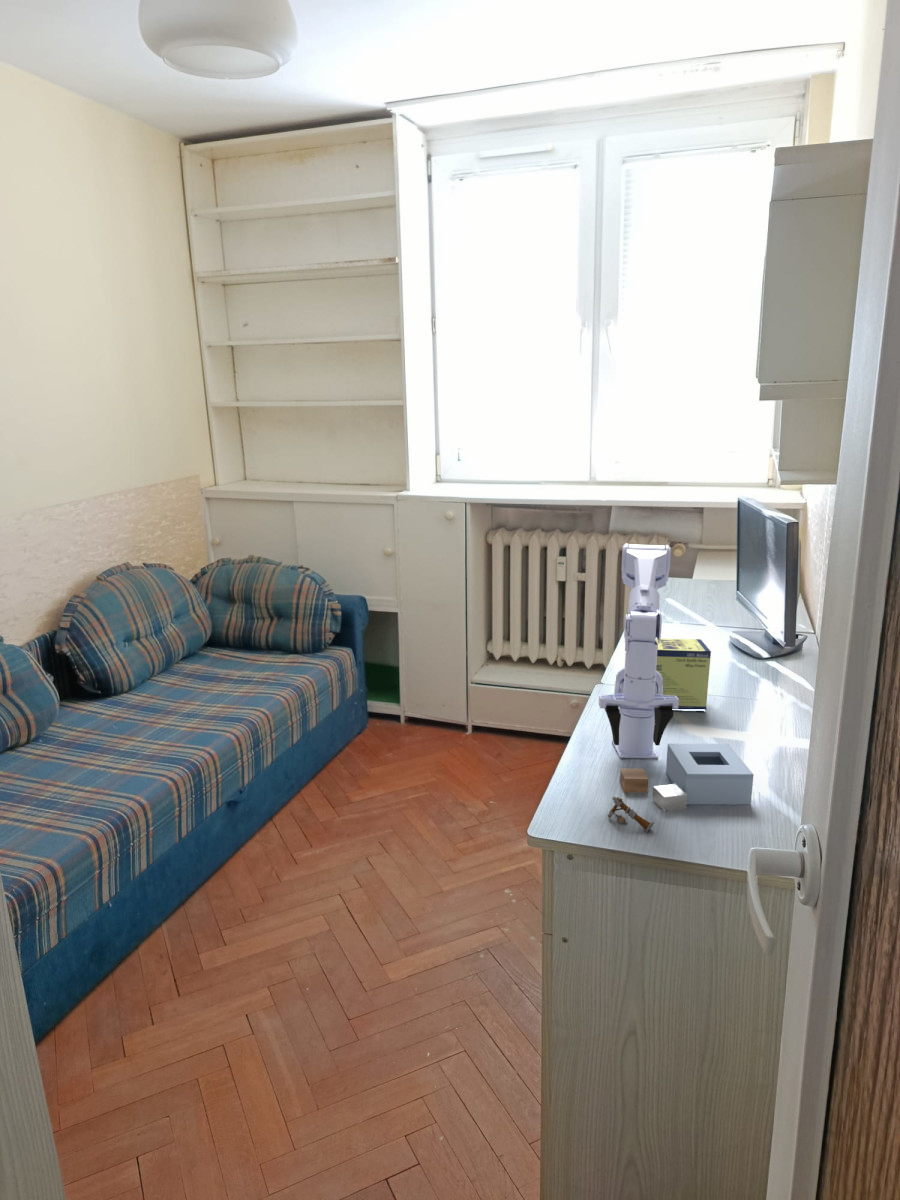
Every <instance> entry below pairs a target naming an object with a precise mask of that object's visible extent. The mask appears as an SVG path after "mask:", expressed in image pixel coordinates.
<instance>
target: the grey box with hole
mask: <svg viewBox="0 0 900 1200" xmlns="http://www.w3.org/2000/svg"><path fill="white" fill-rule="evenodd" d="M666 750H667V751H666V763H665V764H666V765H665V766H666V767H665V773H666V775H668V778H669V779H670V781H671V782H672V783H671V784H676V785H677V786H678V787H679V788H680V789H682V790H683V791H684V792H685V793H686V794H687V805H738V806H739V805H740V806H741V805H746V806H747V805H752V804H751V803H752V796H753V795H752V794H753V785H754V775H755V774H754V773H753V771H752V770H751V769H750V768H749V767H748V765H746V763H745V762H744V760H742V759H741V757H740V756H739V755H738V754H737V752H736V751H735V750H734V749H733V748H732V747H731V746H730V744H729V743H667V749H666Z"/></svg>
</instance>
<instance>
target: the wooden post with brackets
mask: <svg viewBox="0 0 900 1200" xmlns="http://www.w3.org/2000/svg"><path fill="white" fill-rule="evenodd" d="M612 801H613V803H614V805H613V807H612V808H611V810H610V811H609V812H608V814H607V817H608V818H610V819H611V818H612V816H614V817H615V818H616V822H617V821H618V822H619V823H620V824H621V823H623V824H624V823H625V824H624V825H627V824H628V822H627V818H625V817H623V815H622V814H620V815H619V813H616V812H617V811H621V810H622V811H624V813H625V814H627V816H629V817H630V818H631V819H632V820H634V821H635V822H637V823H638V825H640V826H641V827H642V828H643V829H644V833H645V832H647V833H648V831H649V830H650V829H649V828H651V829H652V827H653V826H654V824H655V822H654V821H651V822H650V821H648V820H647V819H645V818H643V817H641V816H640V815H638V812H636V811H635V810H634V809H633V808H631V806H628V805H627V804H625V803H624V801H623V798H622V797H619V796H613V797H612ZM626 823H627V824H626Z"/></svg>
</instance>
